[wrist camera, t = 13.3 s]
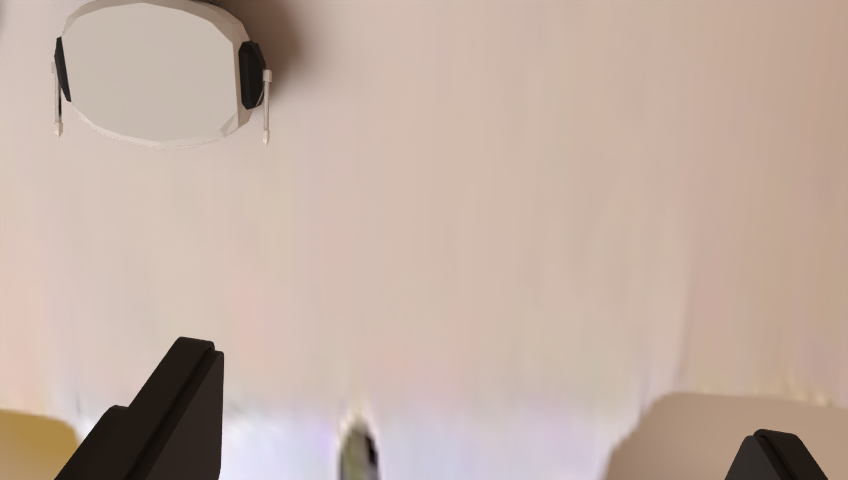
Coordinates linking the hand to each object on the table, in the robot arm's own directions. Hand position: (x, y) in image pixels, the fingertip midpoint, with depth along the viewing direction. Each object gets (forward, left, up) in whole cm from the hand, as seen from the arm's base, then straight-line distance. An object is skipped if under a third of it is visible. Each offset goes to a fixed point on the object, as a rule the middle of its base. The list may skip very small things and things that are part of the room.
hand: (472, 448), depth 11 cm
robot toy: (+17, -3, -30) cm, 35 cm away
